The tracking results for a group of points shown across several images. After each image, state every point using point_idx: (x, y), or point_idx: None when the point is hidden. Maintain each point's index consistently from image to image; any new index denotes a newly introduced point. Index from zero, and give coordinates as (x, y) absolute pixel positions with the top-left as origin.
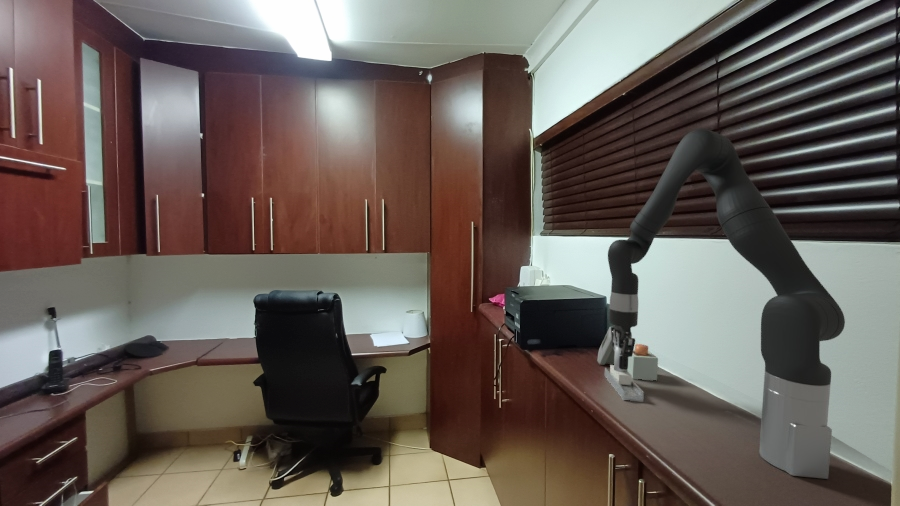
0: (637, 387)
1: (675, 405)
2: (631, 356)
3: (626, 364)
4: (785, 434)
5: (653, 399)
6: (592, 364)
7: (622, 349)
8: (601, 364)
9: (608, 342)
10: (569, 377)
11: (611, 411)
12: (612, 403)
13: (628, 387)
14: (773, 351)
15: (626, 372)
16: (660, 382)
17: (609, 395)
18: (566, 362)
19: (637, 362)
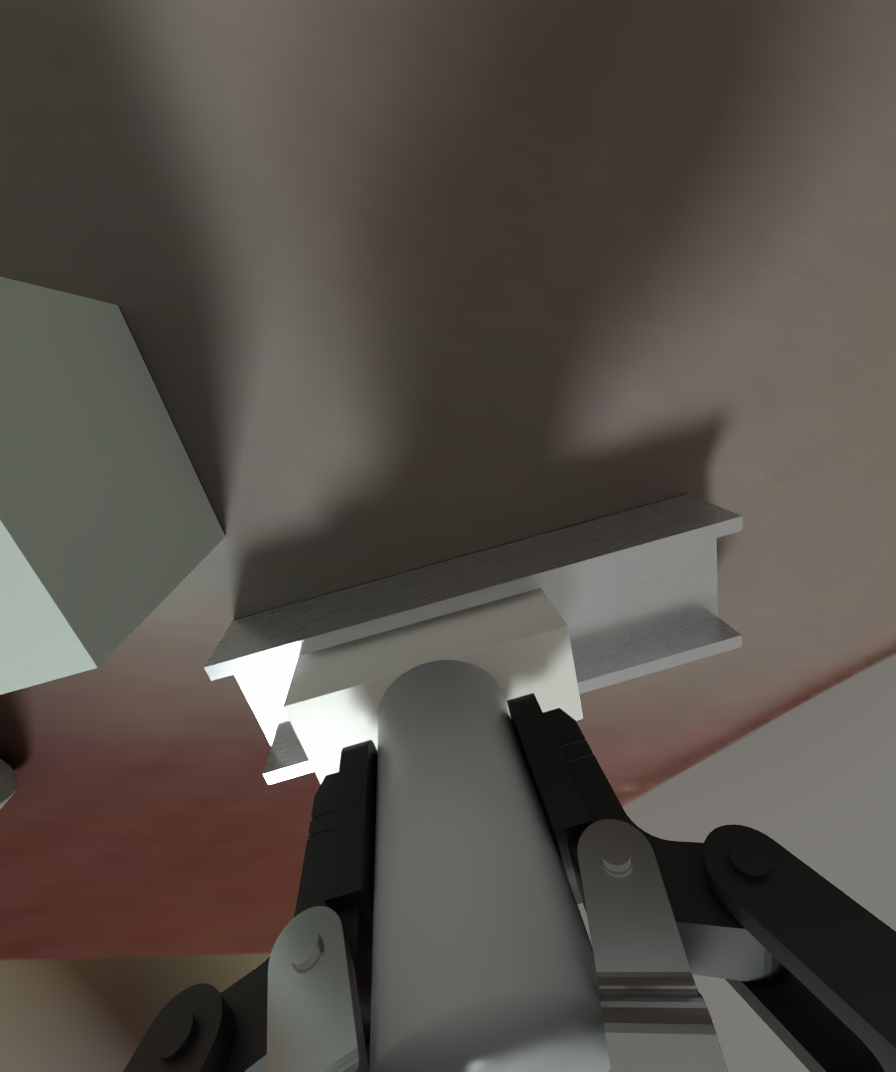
0: (653, 554)
1: (694, 250)
2: (753, 832)
3: (589, 748)
4: None
5: (621, 414)
6: (43, 816)
7: (807, 1060)
8: (13, 772)
9: None
10: None
11: (839, 660)
12: (743, 659)
13: (569, 597)
14: None
15: (489, 666)
16: (147, 271)
17: (635, 678)
18: (140, 941)
19: (120, 574)
